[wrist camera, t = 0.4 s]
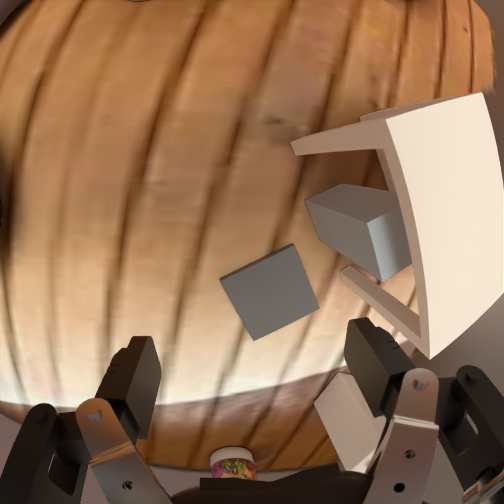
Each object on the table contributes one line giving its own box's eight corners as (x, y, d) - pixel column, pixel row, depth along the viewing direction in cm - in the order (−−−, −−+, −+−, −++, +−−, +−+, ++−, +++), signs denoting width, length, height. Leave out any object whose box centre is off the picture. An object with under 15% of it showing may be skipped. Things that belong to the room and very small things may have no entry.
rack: (342, 281, 34) (429, 359, 18) (289, 142, 28) (385, 119, 12) (407, 243, 35) (504, 291, 18) (368, 113, 29) (481, 92, 12)
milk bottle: (255, 460, 43) (277, 545, 24) (216, 467, 42) (229, 552, 24) (246, 441, 41) (269, 538, 22) (204, 449, 40) (214, 546, 21)
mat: (252, 337, 34) (253, 341, 34) (219, 278, 31) (219, 281, 31) (317, 305, 35) (319, 308, 34) (292, 243, 32) (294, 245, 31)
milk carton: (367, 377, 41) (427, 457, 23) (343, 407, 42) (391, 488, 24) (337, 370, 39) (398, 464, 21) (312, 402, 40) (358, 496, 22)
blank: (319, 240, 32) (382, 282, 20) (304, 200, 31) (366, 223, 18) (354, 222, 32) (427, 253, 20) (341, 183, 31) (416, 196, 18)
